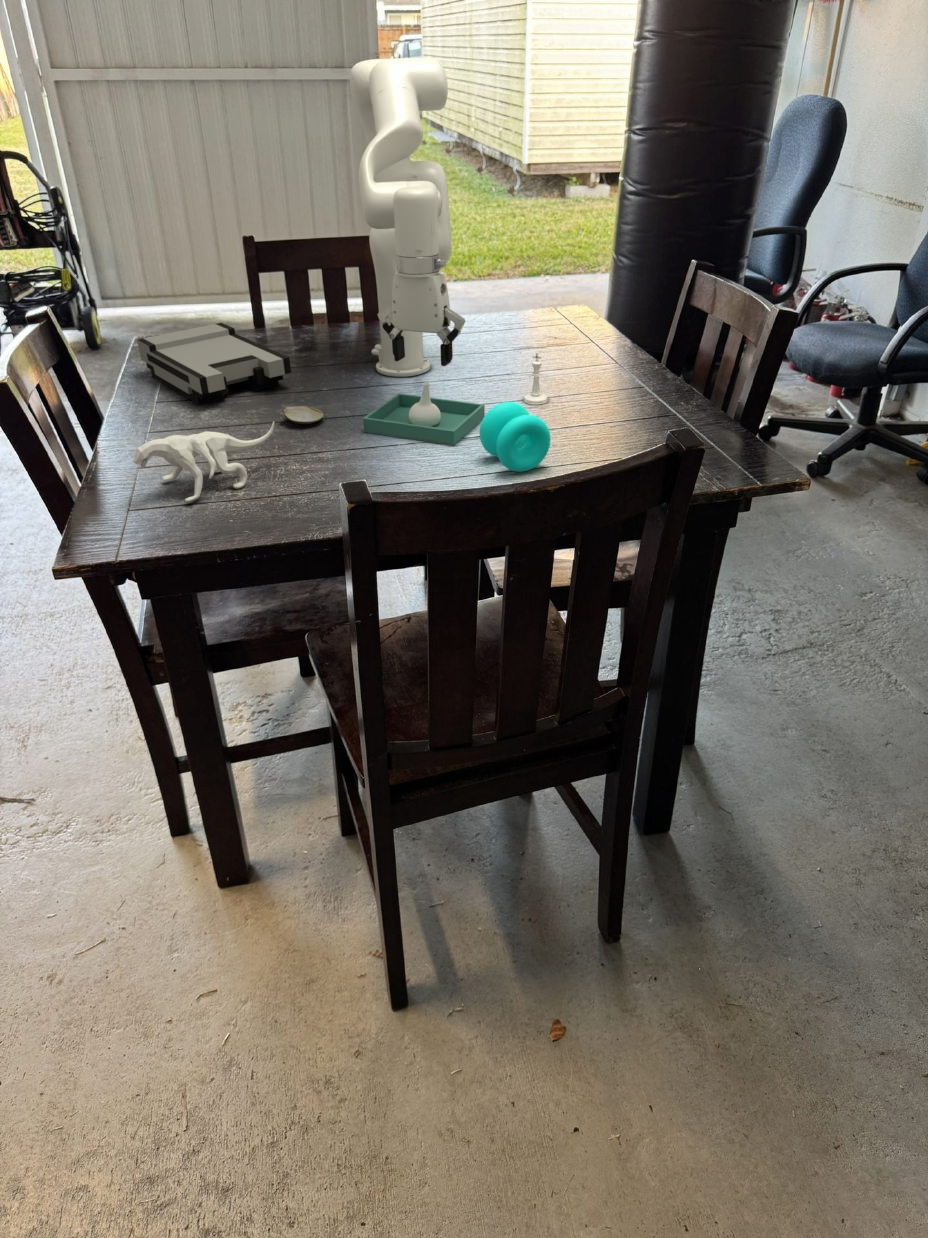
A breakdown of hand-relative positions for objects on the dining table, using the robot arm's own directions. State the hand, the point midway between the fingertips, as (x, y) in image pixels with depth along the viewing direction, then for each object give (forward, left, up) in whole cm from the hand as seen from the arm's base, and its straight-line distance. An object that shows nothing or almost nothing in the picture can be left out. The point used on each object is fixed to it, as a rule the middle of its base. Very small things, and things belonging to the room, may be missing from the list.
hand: (422, 361), depth 159 cm
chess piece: (+10, +24, -13) cm, 29 cm away
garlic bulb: (0, 0, -13) cm, 13 cm away
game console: (-56, -7, -13) cm, 58 cm away
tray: (0, 0, -13) cm, 13 cm away
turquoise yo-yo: (+25, -5, -13) cm, 28 cm away
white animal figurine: (-12, -42, -13) cm, 45 cm away
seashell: (-21, -13, -13) cm, 28 cm away
